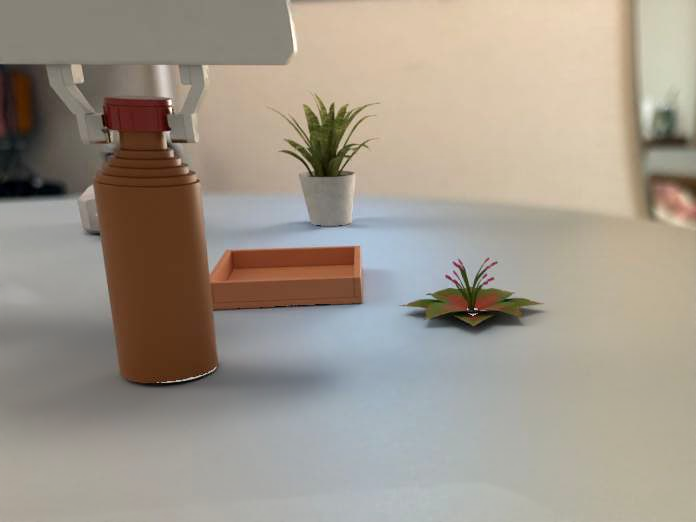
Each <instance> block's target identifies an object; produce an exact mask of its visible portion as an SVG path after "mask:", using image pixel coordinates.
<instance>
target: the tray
mask: <svg viewBox="0 0 696 522" xmlns="http://www.w3.org/2000/svg"><path fill="white" fill-rule="evenodd" d="M209 276H210V286H211V297H212V307H213V311H214V310H217V311H218V310H235V309H236V310H238V309H237V308H240V309H258V308H260V307H263V308H276V307H275V306H286V307H290V306H289V305H293V306H292V307H298V306H297V305H309V306H316V305H315V304H331V305H348V304H349V305H350V304H351V305H352V303H354V304H363V262H362V247H361V245H341V246H340V245H339V246H337V245H336V246H335V245H334V246H310V247H309V246H308V247H307V246H306V247H303V246H302V247H277V248H275V247H273V248H247V249H246V248H245V249H244V248H243V249H226V250H225V251H224V252H223V254H222V255H221V257H220V259H219V260H218V261H217V263H216V264H215V266H214V268H213V269H212V270H211V272H210V273H209ZM287 305H288V306H287ZM295 305H296V306H295ZM260 309H261V308H260Z"/></svg>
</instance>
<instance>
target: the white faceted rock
mask: <svg viewBox="0 0 696 522" xmlns="http://www.w3.org/2000/svg"><path fill="white" fill-rule="evenodd" d="M77 206H78V211H79V216H80V220H81V226H82V229H83V230H84V231H85V232H86V233H87V232H88V233H90V234H96V235H97V234H98V235H100V229H99V222H98V215H97V208H96V201H95V194H94V187H93V184H91V185H89V186H88V187H87V188H86V190H84V192H83V193H82V194H81V195H80V196H79V198H78V199H77Z"/></svg>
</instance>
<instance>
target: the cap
mask: <svg viewBox="0 0 696 522" xmlns="http://www.w3.org/2000/svg"><path fill="white" fill-rule="evenodd" d="M102 103H103V105H102V111H103V112H102V113H104V119H105V124H106V126H105V127H107V129H110V130H112V131H116V132H118V131H131V132H164V131H166V132H170V131H171V128H170V127H169V126H168V120H167V114H171V113H175V106H174V105H173V104H174V102H173V98H172V97H164V96H154V95H153V96H152V95H127V94H125V95H124V94H123V95H119V94H118V95H115V94H113V95H112V94H111V95H102Z"/></svg>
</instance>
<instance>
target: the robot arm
mask: <svg viewBox="0 0 696 522" xmlns="http://www.w3.org/2000/svg"><path fill="white" fill-rule="evenodd" d="M298 51H299V42H298V33H297V27H296V20H295V16H294V10H293V5H292V0H0V65H45V68H46V73H47V78H48V82H49V83H48V84H49V86H50V88H51V89H52V90H53V91H54V92H55V94H56V95H57V96H58V98H59V99H60V100H61V101H62V102H63V103H64V105H65V106H66V107H67V108H68V109H69V111H70V112H71V113H72V115H75V117H76V122H77V127H78V133H79V137H80V141H81V143H82V144H83V145H109V144H112V143H113V142H114V133H113V130H110V129H107V127H105V126H106V124H105V119H104V112H96V111H95V109H94V108H93V107H92V105H91V104H90V102H88V100H87V99H86V98H85V96H84V95H83V93H82V92H81V91H80V89H79V88H78V86H77V85H80V84H83V83H85V79H84V72H83V66H82V65H91V66H92V65H94V66H95V65H98V66H99V65H101V66H102V65H107V66H110V65H112V66H113V65H114V66H115V65H117V66H118V65H120V66H121V65H122V66H123V65H124V66H125V65H128V66H141V65H142V66H146V65H147V66H156V65H157V66H178V72H179V78H180V79H179V80H180V83H181V85H182V86H190V85H191V86H190V89H189V90H188V93H187V96H186V98H185V100H184V103H183V106H182V108H181V111H180V112H174V113H171V114H167V120H168V126H169V127H170V128H171V131H169V138H170V139H169V140H170V142H171V143H172V144H197V143H199V142H200V131H199V123H198V116H197V113H199V111H200V108H201V106H202V104H203V102H204V99H205V97H206V95H207V93H208V90H209V88H210V86H211V78H210V77H211V76H210V70H209V66H288V65H289V64H290V63H291V62H292V61H293V60H294V59H295V57H296V55H297V54H298Z"/></svg>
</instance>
